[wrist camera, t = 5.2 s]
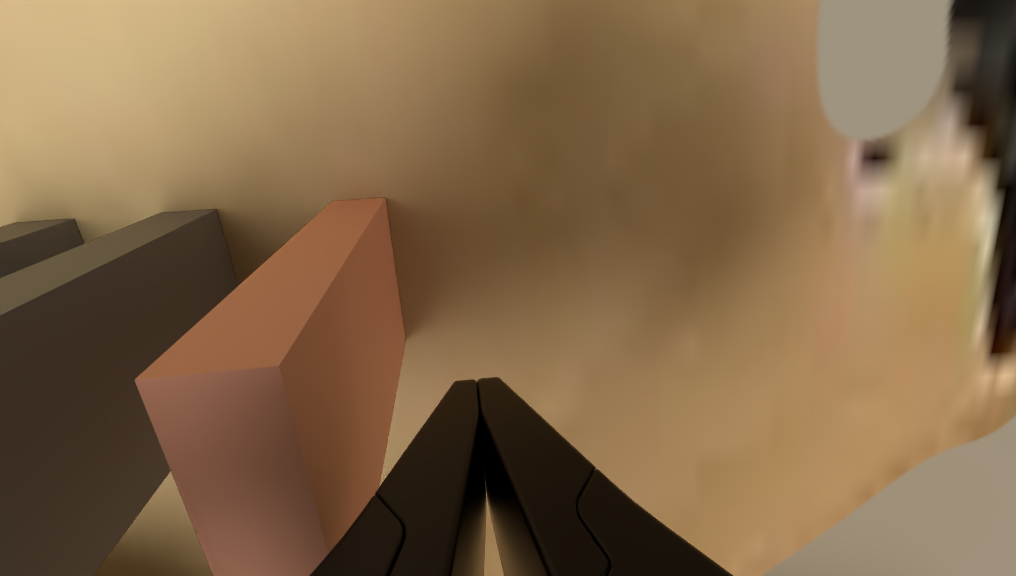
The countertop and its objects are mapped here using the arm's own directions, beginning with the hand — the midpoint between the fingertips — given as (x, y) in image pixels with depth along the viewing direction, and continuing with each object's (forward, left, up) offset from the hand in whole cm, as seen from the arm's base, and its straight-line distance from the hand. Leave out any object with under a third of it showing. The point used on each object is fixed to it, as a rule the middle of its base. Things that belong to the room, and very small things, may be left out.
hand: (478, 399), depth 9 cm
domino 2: (+6, +5, -8) cm, 11 cm away
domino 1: (+2, +2, -8) cm, 8 cm away
